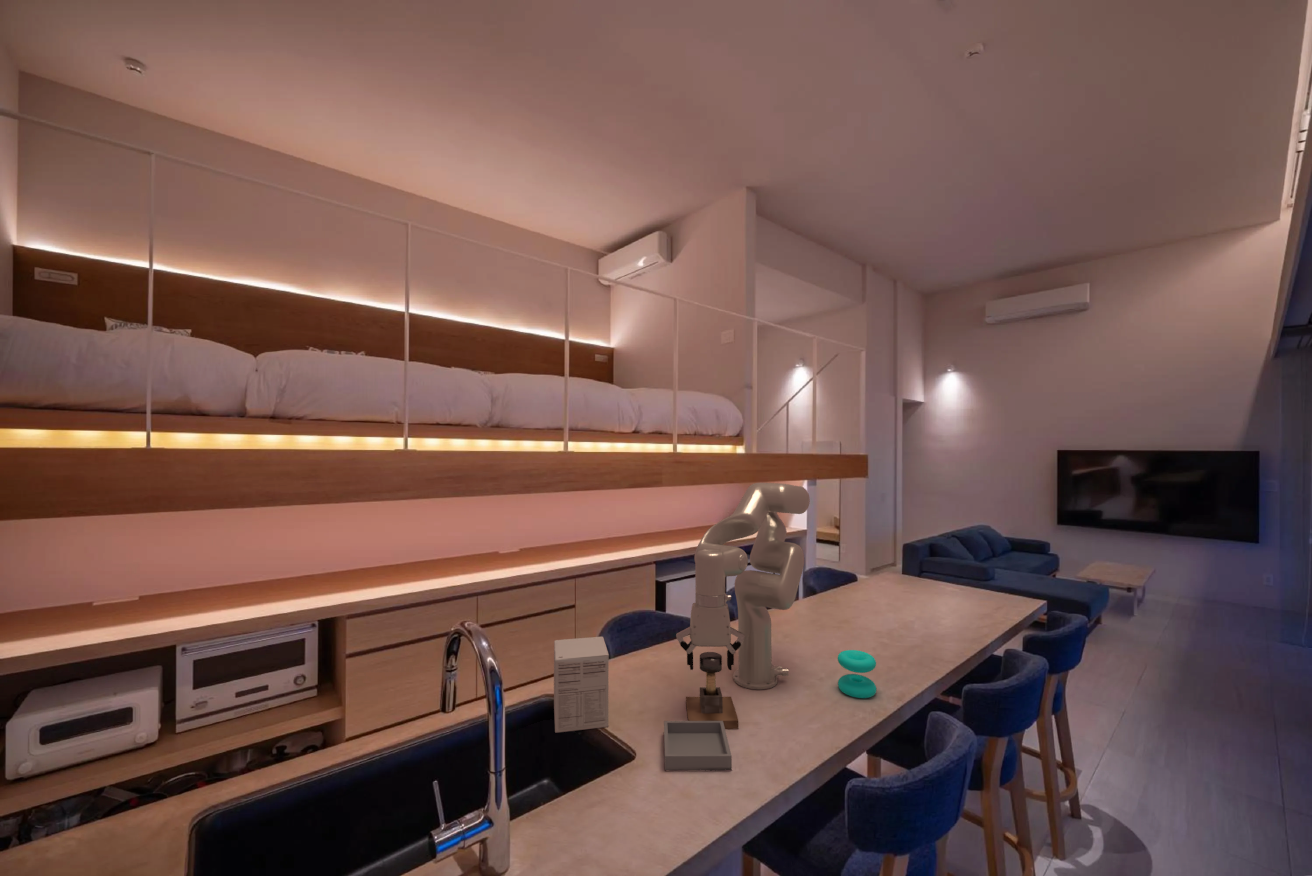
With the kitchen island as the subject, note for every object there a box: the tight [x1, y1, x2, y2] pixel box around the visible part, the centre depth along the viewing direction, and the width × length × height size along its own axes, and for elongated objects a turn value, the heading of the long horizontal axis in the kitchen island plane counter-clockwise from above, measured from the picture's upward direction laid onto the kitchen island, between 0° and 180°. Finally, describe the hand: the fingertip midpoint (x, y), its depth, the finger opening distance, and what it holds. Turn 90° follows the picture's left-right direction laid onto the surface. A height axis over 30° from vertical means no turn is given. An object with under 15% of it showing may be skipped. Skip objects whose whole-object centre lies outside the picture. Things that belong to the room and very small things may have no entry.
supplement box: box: [553, 636, 610, 734], centre depth 130 cm, size 13×13×18 cm
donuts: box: [837, 649, 877, 699], centre depth 143 cm, size 10×10×10 cm
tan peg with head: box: [699, 651, 723, 696], centre depth 130 cm, size 6×6×13 cm
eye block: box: [685, 686, 740, 730], centre depth 130 cm, size 12×12×6 cm
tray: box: [663, 720, 733, 772], centre depth 115 cm, size 14×14×3 cm
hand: (710, 667), depth 130 cm, fingers open, 9 cm apart
